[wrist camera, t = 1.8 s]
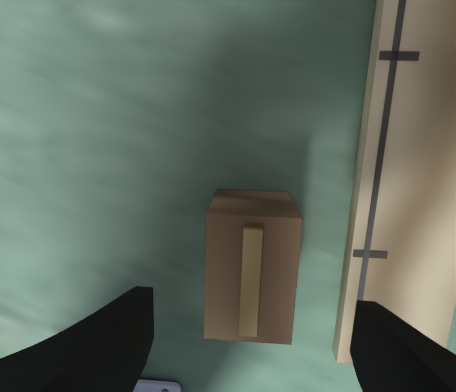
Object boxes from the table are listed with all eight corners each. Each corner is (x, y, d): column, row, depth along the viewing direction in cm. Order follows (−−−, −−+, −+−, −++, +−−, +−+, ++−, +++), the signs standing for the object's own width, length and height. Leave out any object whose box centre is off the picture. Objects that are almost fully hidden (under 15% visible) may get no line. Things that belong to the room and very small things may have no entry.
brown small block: (214, 284, 20) (202, 343, 14) (217, 188, 18) (204, 215, 13) (280, 288, 19) (292, 349, 14) (287, 191, 18) (304, 220, 13)
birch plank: (332, 350, 20) (337, 363, 19) (390, -107, 14) (401, -125, 13) (431, 357, 20) (441, 371, 19) (529, -108, 14) (551, -126, 13)
